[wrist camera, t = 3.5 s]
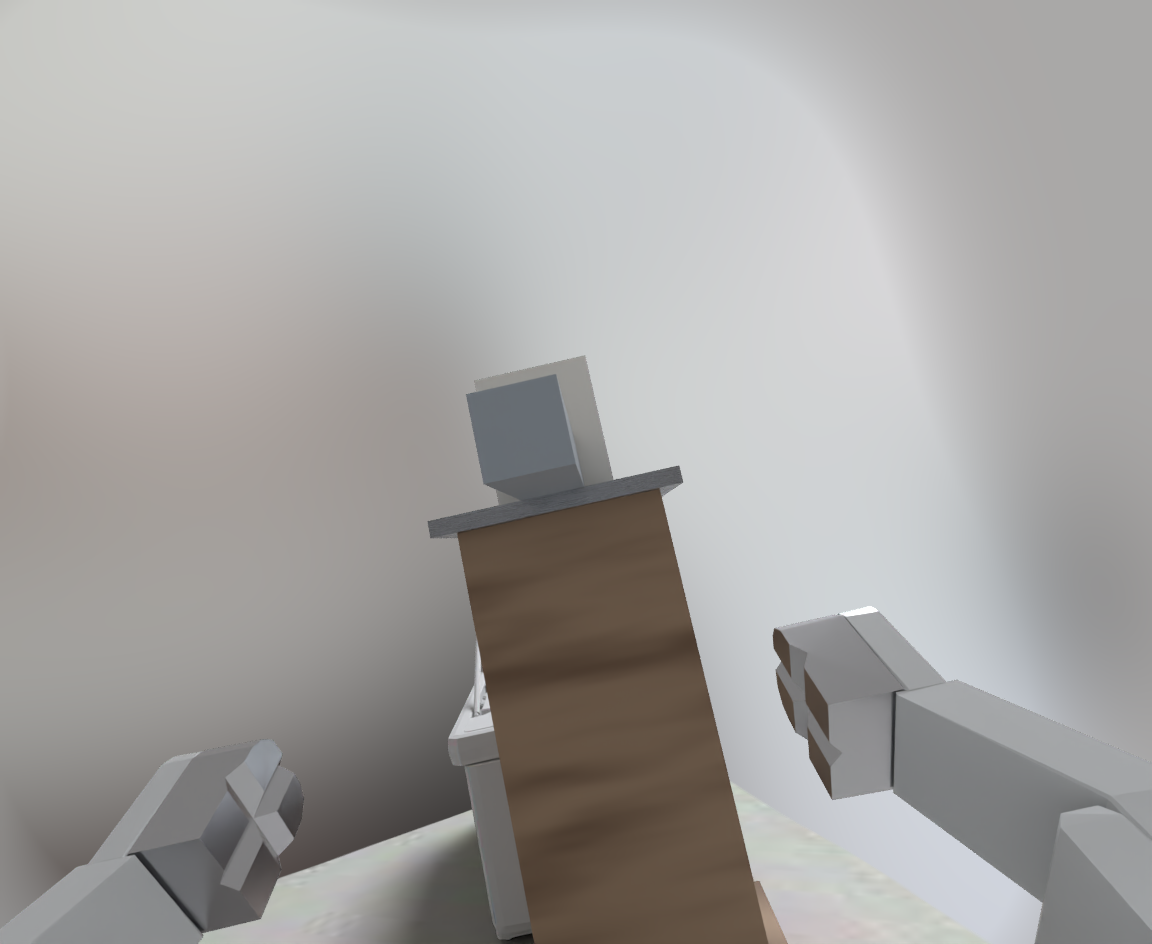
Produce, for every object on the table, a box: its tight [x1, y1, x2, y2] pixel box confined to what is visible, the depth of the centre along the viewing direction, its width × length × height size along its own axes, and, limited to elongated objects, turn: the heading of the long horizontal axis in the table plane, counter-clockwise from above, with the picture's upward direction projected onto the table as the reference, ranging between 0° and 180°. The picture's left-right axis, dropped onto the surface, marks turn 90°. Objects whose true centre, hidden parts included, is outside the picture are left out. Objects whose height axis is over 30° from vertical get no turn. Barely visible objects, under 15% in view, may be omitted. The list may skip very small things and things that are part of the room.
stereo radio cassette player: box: [448, 636, 532, 940], centre depth 44 cm, size 21×8×20 cm, turn 4°
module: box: [466, 356, 613, 505], centre depth 26 cm, size 18×6×7 cm, turn 177°
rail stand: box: [428, 466, 788, 944], centre depth 28 cm, size 11×13×26 cm
